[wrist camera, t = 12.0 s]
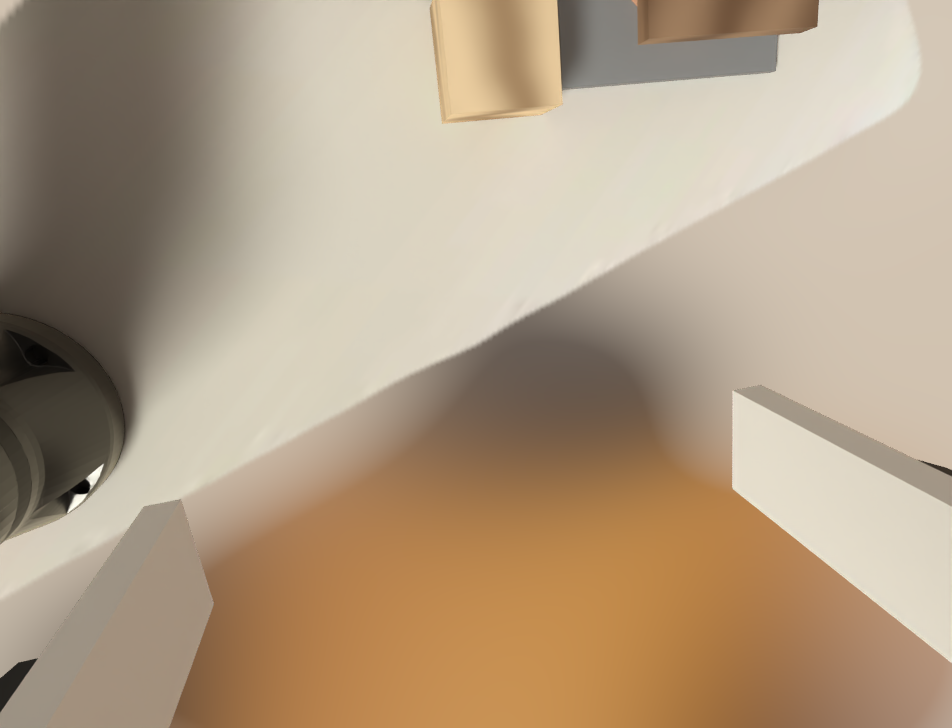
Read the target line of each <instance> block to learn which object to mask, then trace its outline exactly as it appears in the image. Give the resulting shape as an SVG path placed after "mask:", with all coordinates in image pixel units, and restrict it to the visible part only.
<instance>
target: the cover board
mask: <svg viewBox="0 0 952 728" xmlns="http://www.w3.org/2000/svg"><path fill="white" fill-rule="evenodd" d="M818 5H819V0H637V20H638V45H645V44H658V43H672V42H685V41H699V40H712V39H726V38H739V37H753V36H766V35H780V34H793V33H802V32H804V31H807V30H810V29H812V28H815V27H817V21H818Z"/></svg>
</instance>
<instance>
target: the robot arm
mask: <svg viewBox="0 0 952 728" xmlns="http://www.w3.org/2000/svg"><path fill="white" fill-rule="evenodd" d="M123 440H124V416H123V410H122V406H121V402H120V399H119V397H118V394H117V392H116V389H115V387H114V385H113V383H112V382H111V380H110V378H109V377H108V375H107V374H106V372H105V371H104V369H103V368H102V367H101V366H100V364H99V363H98V362H97V361H96V360H95V359H94V358H93V357H92V356H91V355H90V354H89V353H88V352H87V351H86V350H85V349H84V348H83V347H81V346H80V345H79V344H78V343H76V342H75V341H74V340H72V339H71V338H69V337H68V336H66V335H64V334H63V333H61V332H59V331H57V330H55V329H53V328H51V327H49V326H47V325H45V324H42V323H40V322H37V321H34V320H31V319H28V318H25V317H20V316H16V315H11V314H5V313H0V544H1V543H2V542H3V541H5V540H8V539H11V538H13V537H16V536H18V535H21V534H23V533H26V532H29V531H31V530H34V529H36V528H39V527H41V526H44V525H47V524H49V523H51V522H54V521H56V520H58V519H60V518H62V517H64V516H65V515H67V514H69V513H70V512H72V511H73V510H75V509H76V508H78V507H79V506H80V505H81V504H83V503H84V502H85V501H86V500H87V499H88V498H89V497H90V496H91V495H92V494H93V493H94V492H95V491H96V490H97V489H98V488H99V487H100V486H101V485H102V483H103V482H104V481H105V480H106V479H107V478H108V476H109V475H110V473H111V472H112V470H113V469H114V467H115V465H116V463H117V461H118V458H119V456H120V453H121V449H122V445H123ZM732 450H733V452H732V453H733V454H732V456H733V457H732V459H733V460H732V466H733V467H732V473H733V474H732V475H733V477H732V484H733V485H732V489H734V490H735V491H736V492H737V493H739V494H740V495H741V496H742V497H744V498H745V499H746V500H748V501H749V502H750V503H751V504H753V505H754V506H755V507H756V508H758V509H759V510H760V511H761V512H763V513H764V514H765V515H766V516H768V517H769V518H770V519H771V520H773V521H774V522H775V523H776V524H778V525H779V526H780V527H781V528H783V529H784V530H785V531H787V532H788V533H789V534H790V535H791V536H793V537H794V538H795V539H796V540H798V541H799V542H800V543H802V544H803V545H804V546H805V547H807V548H808V549H809V550H810V551H812V552H813V553H814V554H815V555H817V556H818V557H819V558H820V559H822V560H823V561H824V562H825V563H827V564H828V565H829V566H830V567H832V568H833V569H834V570H836V571H837V572H838V573H839V574H841V575H842V576H843V577H844V578H845V579H847V580H848V581H849V582H850V583H852V584H853V585H854V586H856V587H857V588H858V589H859V590H861V591H862V592H863V593H864V594H866V595H867V596H868V597H869V598H871V599H872V600H873V601H874V602H876V603H877V604H878V605H880V606H881V607H882V608H883V609H884V610H886V611H887V612H888V613H889V614H891V615H892V616H893V617H894V618H896V619H897V620H898V621H900V622H901V623H902V624H903V625H905V626H906V627H907V628H908V629H910V630H911V631H912V632H913V633H915V634H916V635H917V636H918V637H920V638H921V639H922V640H923V641H925V642H926V643H927V644H928V645H930V646H931V647H932V648H934V649H935V650H936V651H937V652H939V653H940V654H941V655H942V656H944V657H945V658H946V659H947V660H949V661H950V662H952V470H950V469H948V468H945V467H941V466H937V465H934V464H931V463H927V462H924V461H920V460H916V459H914V458H912V457H910V456H907V455H906V454H904V453H901V452H899V451H897V450H895V449H893V448H891V447H889V446H887V445H885V444H883V443H881V442H879V441H876V440H874V439H872V438H870V437H868V436H866V435H864V434H862V433H860V432H858V431H856V430H854V429H851V428H849V427H847V426H845V425H843V424H841V423H838V422H837V421H835V420H833V419H831V418H829V417H826V416H824V415H822V414H820V413H818V412H816V411H814V410H812V409H810V408H808V407H806V406H803V405H801V404H799V403H797V402H795V401H793V400H791V399H789V398H787V397H785V396H783V395H781V394H778V393H776V392H774V391H772V390H770V389H768V388H766V387H764V386H762V385H758V386H753V387H748V388H743V389H738V390H733V447H732ZM213 605H214V603H213V600H212V596H211V593H210V590H209V587H208V584H207V581H206V578H205V574H204V571H203V568H202V565H201V561H200V558H199V555H198V552H197V549H196V546H195V542H194V539H193V536H192V533H191V530H190V526H189V523H188V520H187V517H186V514H185V511H184V507H183V504H182V501H181V499H180V500H175V501H170V502H165V503H160V504H155V505H149V506H144V507H143V509H142V510H141V512H140V513H139V514H138V516H137V517H136V519H135V520H134V522H133V523H132V524H131V526H130V527H129V529H128V530H127V532H126V533H125V534H124V536H123V537H122V539H121V540H120V542H119V543H118V545H117V546H116V547H115V549H114V550H113V552H112V553H111V555H110V556H109V557H108V559H107V560H106V562H105V563H104V565H103V566H102V567H101V569H100V570H99V572H98V573H97V575H96V576H95V578H94V579H93V581H92V582H91V583H90V585H89V586H88V588H87V589H86V590H85V592H84V593H83V595H82V596H81V598H80V599H79V600H78V602H77V604H76V605H75V606H74V608H73V609H72V611H71V612H70V614H69V615H68V616H67V618H66V619H65V621H64V622H63V623H62V625H61V626H60V628H59V629H58V631H57V632H56V633H55V635H54V636H53V638H52V639H51V641H50V642H49V644H48V645H47V646H46V648H45V649H44V651H43V652H42V653H41V655H40V656H39V658H37V659H33V660H29V661H24V662H19V663H18V664H16V665H15V666H14V667H13V668H12V669H11V670H10V671H8V672H7V673H6V674H5V675H4V676H3V677H1V678H0V728H169V726H170V723H171V721H172V718H173V715H174V712H175V710H176V707H177V704H178V701H179V699H180V696H181V693H182V690H183V688H184V685H185V682H186V679H187V677H188V673H189V671H190V668H191V666H192V663H193V660H194V657H195V654H196V652H197V649H198V646H199V643H200V641H201V638H202V635H203V632H204V630H205V627H206V624H207V621H208V619H209V616H210V613H211V610H212V607H213Z"/></svg>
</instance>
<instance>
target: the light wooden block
mask: <svg viewBox="0 0 952 728" xmlns="http://www.w3.org/2000/svg"><path fill="white" fill-rule="evenodd" d="M430 15H431V24H432V33H433V43H434V52H435V61H436V71H437V80H438V89H439V99H440V108H441V117H442V124H444V123H455V122H466V121H478V120H489V119H500V118H512V117H523V116H534V115H542V114H544V113H546V112H548V111H550V110H552V109H554V108H556V107H558V106H560V105H562V84H561V65H560V46H559V26H558V7H557V0H432V3H431V7H430Z"/></svg>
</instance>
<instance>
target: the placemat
mask: <svg viewBox="0 0 952 728" xmlns="http://www.w3.org/2000/svg"><path fill="white" fill-rule="evenodd" d="M557 7H558V26H559V46H560V65H561V84H562V90H566V89H578V88H590V87H602V86H614V85H626V84H638V83H650V82H662V81H674V80H686V79H698V78H710V77H722V76H735V75H747V74H759V73H771V72H774V71H776V55H777V35H766V36H753V37H739V38H726V39H712V40H699V41H685V42H672V43H658V44H645V45H638V20H637V6H636V5H635V4H634V2H633V1H632V0H557Z"/></svg>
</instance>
